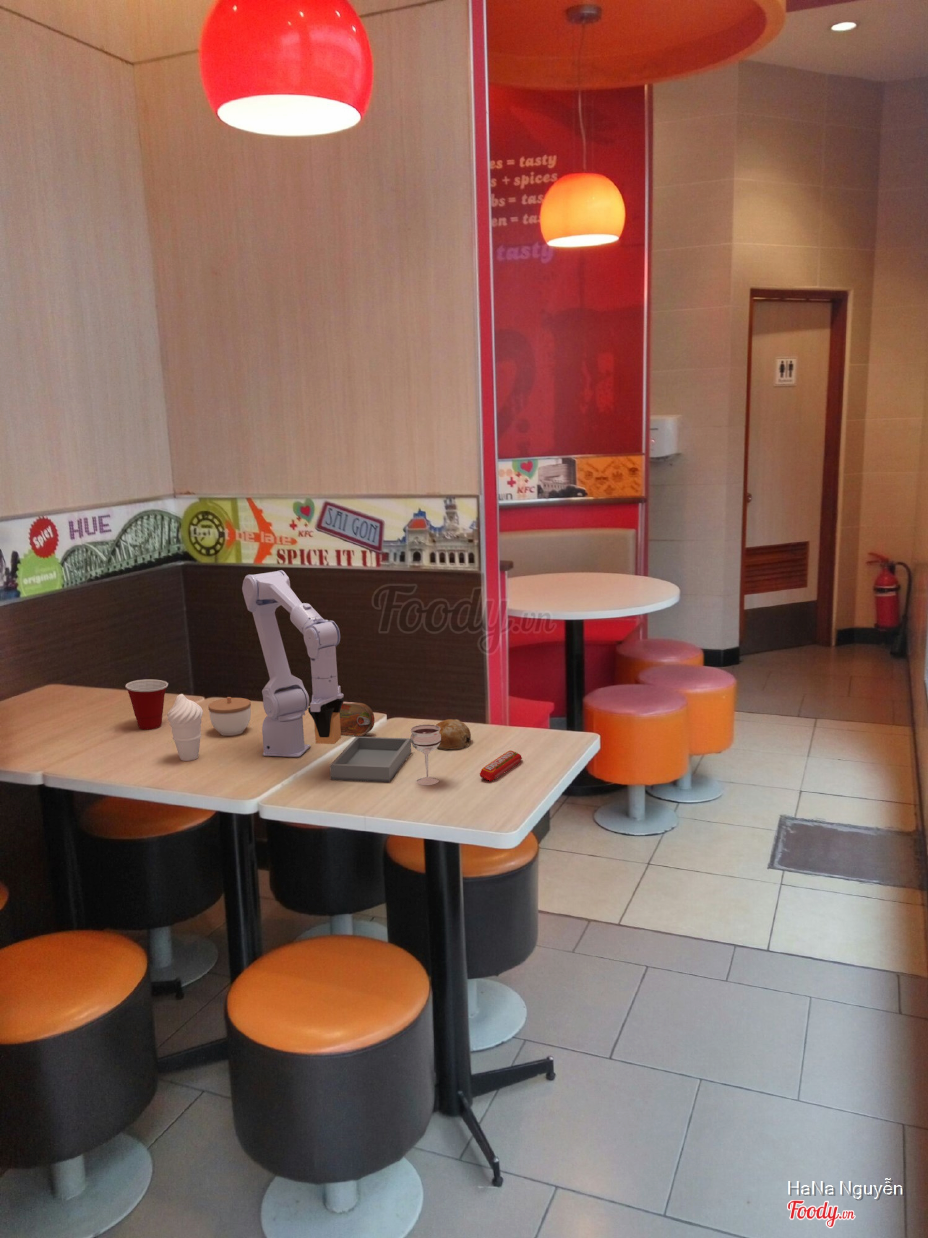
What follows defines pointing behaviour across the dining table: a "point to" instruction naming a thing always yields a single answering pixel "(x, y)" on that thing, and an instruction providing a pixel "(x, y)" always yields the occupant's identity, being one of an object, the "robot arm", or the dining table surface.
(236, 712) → the lidded jar
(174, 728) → the soft serve ice cream cone
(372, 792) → the dining table surface
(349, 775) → the serving tray
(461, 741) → the bread roll
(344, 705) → the tin
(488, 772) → the candy bar
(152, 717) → the plastic cup
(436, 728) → the wineglass
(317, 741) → the orange block
